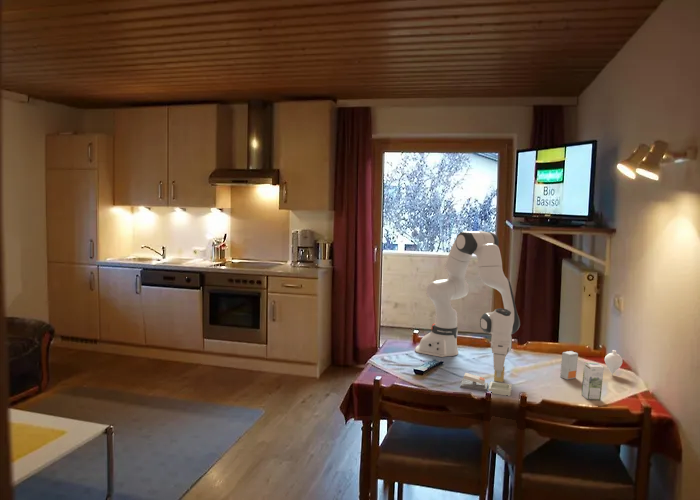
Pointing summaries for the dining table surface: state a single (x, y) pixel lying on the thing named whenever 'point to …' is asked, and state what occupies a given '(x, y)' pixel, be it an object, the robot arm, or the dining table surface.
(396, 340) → the dining table surface
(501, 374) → the lockout cap
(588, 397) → the syrup box
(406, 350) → the dining table surface
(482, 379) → the rocker
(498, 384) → the socket
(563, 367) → the skincare box
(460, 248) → the robot arm
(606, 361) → the spinning top
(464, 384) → the switch base
